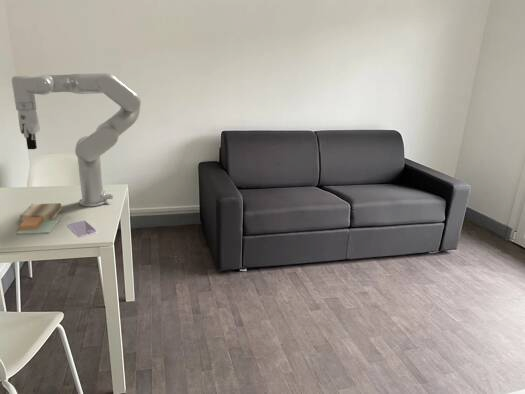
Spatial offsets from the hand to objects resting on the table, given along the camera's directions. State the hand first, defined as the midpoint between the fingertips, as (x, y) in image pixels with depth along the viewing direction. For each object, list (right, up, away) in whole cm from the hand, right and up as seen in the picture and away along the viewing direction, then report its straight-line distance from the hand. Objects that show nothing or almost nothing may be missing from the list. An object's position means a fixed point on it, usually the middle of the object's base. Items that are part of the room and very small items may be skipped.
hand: (32, 148), depth 177 cm
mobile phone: (+27, -35, -12) cm, 46 cm away
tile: (+7, -33, -12) cm, 36 cm away
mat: (+10, -34, -13) cm, 37 cm away
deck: (+5, -29, -1) cm, 30 cm away
